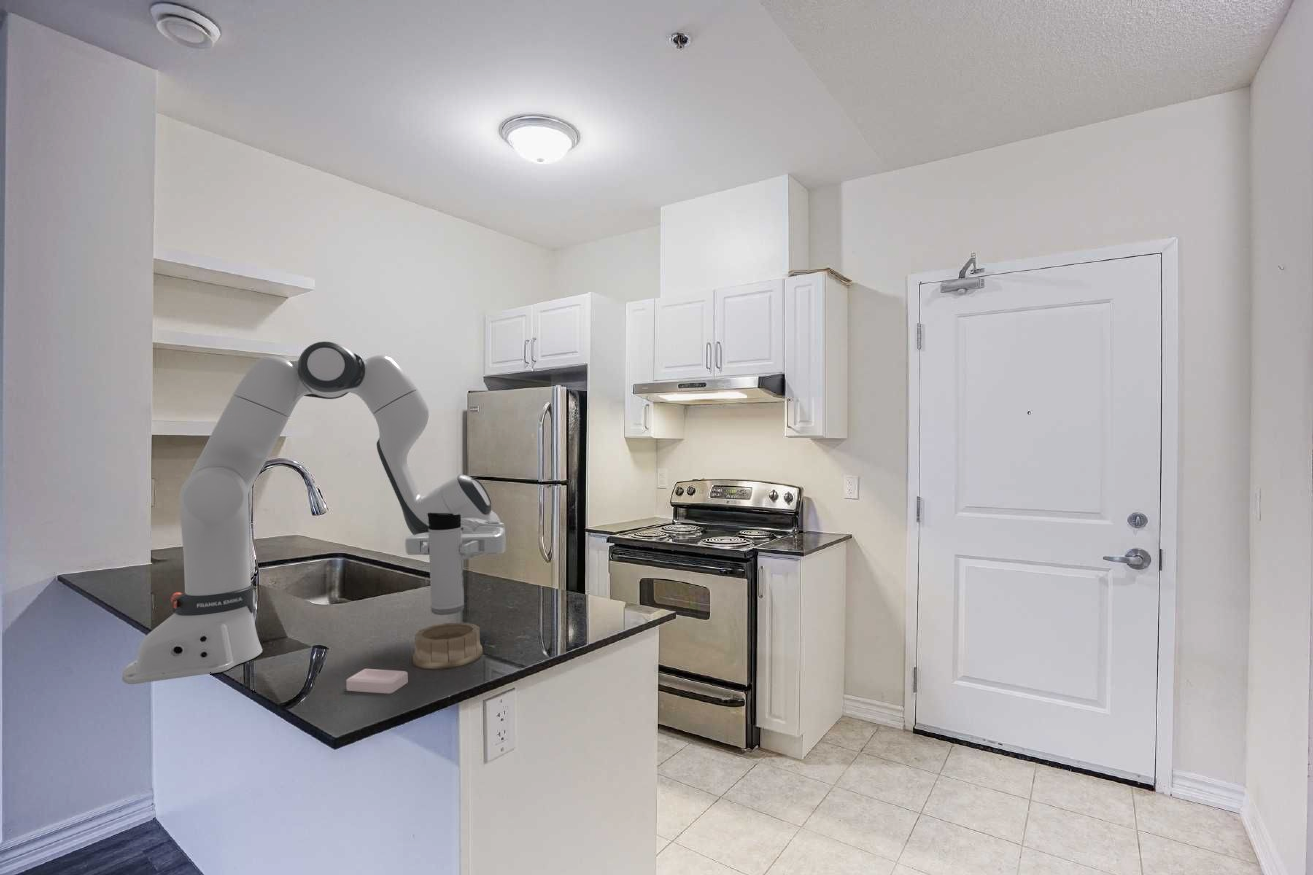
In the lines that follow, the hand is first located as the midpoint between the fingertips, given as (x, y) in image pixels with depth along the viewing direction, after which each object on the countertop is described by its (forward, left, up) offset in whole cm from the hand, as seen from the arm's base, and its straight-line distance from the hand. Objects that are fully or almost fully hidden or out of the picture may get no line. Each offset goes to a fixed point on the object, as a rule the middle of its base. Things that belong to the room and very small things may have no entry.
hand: (443, 550), depth 128 cm
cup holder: (0, +1, -21) cm, 21 cm away
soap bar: (-14, -7, -22) cm, 27 cm away
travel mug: (+1, +1, -12) cm, 13 cm away
